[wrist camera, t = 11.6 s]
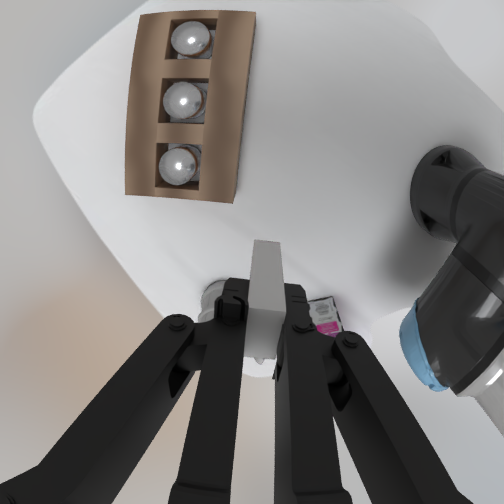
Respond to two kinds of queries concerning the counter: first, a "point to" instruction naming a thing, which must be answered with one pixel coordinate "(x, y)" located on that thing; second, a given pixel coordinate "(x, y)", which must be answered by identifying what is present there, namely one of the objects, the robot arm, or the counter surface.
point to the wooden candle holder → (216, 113)
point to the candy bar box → (325, 316)
